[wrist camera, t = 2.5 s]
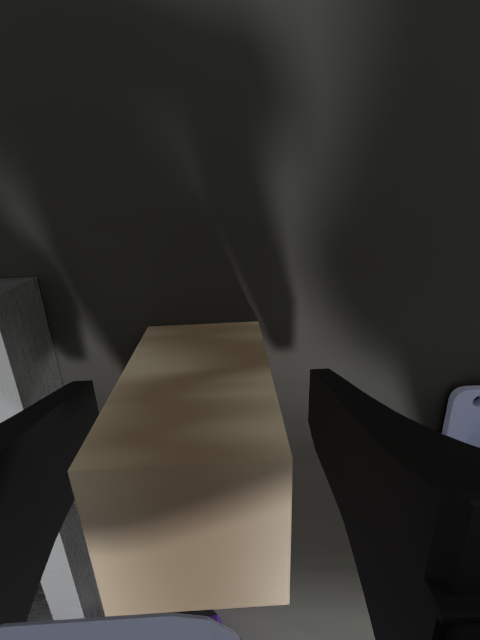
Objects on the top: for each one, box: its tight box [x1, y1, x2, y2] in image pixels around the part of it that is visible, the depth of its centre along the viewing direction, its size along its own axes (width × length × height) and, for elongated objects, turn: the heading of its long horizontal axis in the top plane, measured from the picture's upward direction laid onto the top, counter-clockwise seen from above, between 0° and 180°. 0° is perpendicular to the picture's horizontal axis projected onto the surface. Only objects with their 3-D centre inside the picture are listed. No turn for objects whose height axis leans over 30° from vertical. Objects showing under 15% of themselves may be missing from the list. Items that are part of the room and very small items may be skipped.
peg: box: [68, 321, 293, 617], centre depth 10 cm, size 4×4×7 cm
